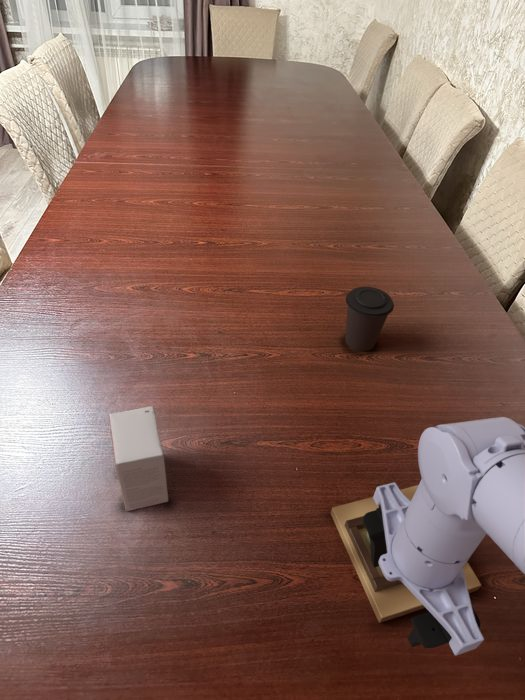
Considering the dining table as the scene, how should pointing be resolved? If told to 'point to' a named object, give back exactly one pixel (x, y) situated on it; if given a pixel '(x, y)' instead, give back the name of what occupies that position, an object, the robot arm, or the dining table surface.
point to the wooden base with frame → (381, 593)
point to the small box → (138, 458)
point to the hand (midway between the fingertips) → (399, 599)
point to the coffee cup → (366, 316)
